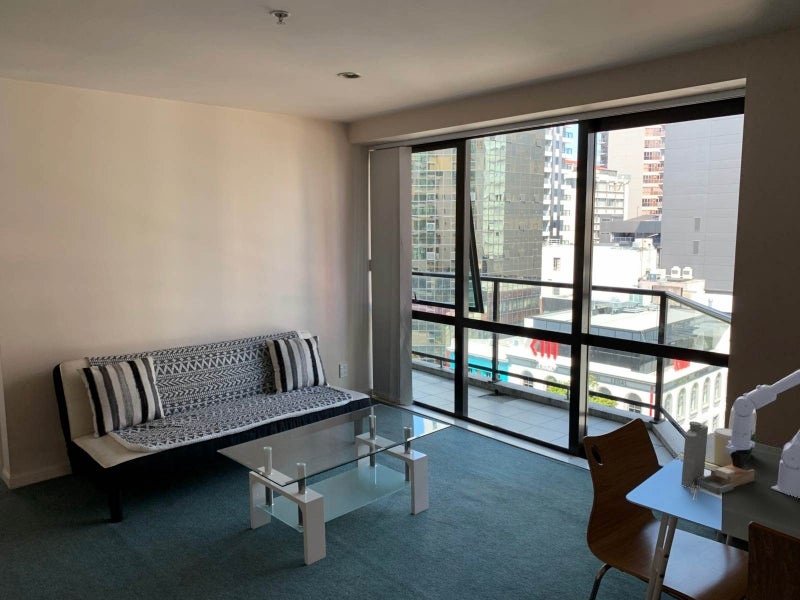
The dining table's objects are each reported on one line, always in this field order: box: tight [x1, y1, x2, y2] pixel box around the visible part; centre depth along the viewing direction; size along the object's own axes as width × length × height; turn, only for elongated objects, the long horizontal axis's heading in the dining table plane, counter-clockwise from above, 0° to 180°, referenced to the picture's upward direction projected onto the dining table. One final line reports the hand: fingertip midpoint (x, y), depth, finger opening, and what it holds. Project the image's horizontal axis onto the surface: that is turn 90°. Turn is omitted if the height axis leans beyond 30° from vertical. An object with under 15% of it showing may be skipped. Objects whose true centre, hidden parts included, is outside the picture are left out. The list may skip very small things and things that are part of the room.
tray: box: [695, 474, 734, 495], centre depth 196 cm, size 8×8×2 cm
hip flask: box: [680, 421, 709, 488], centre depth 201 cm, size 16×4×20 cm, turn 137°
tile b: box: [715, 466, 735, 479], centre depth 199 cm, size 4×4×2 cm
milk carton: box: [728, 406, 757, 460], centre depth 226 cm, size 9×9×20 cm
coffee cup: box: [713, 427, 733, 467], centre depth 216 cm, size 9×9×12 cm
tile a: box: [724, 465, 742, 475], centre depth 201 cm, size 4×4×2 cm
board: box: [710, 464, 756, 488], centre depth 202 cm, size 7×14×4 cm, turn 120°
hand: (737, 470), depth 203 cm, fingers closed
